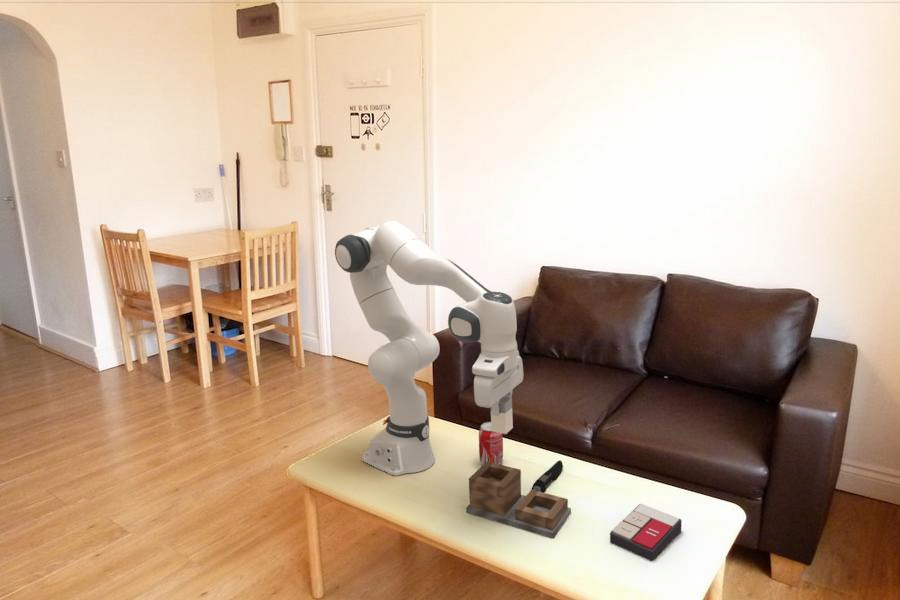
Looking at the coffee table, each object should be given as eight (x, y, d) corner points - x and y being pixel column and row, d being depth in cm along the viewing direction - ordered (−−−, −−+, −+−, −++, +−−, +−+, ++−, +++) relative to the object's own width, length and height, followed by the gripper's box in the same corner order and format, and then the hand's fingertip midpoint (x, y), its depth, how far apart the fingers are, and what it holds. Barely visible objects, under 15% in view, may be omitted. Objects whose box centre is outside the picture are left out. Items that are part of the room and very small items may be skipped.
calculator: (609, 530, 152) (640, 500, 162) (609, 545, 153) (640, 515, 163) (652, 549, 145) (682, 516, 155) (652, 565, 146) (681, 532, 156)
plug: (491, 431, 162) (490, 401, 160) (498, 425, 165) (497, 395, 163) (505, 434, 160) (504, 404, 158) (512, 427, 163) (511, 398, 161)
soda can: (481, 456, 196) (480, 420, 193) (504, 458, 194) (503, 421, 191) (477, 468, 189) (476, 430, 186) (501, 469, 188) (500, 432, 185)
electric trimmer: (566, 471, 186) (566, 461, 186) (542, 495, 174) (542, 485, 173) (554, 468, 188) (554, 458, 188) (530, 492, 176) (530, 481, 175)
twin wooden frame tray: (466, 512, 167) (465, 479, 165) (487, 490, 177) (486, 459, 175) (553, 538, 155) (553, 503, 153) (570, 513, 165) (571, 479, 163)
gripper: (506, 344, 168) (508, 394, 171) (468, 369, 151) (470, 424, 154) (528, 347, 165) (530, 397, 168) (492, 373, 148) (494, 428, 151)
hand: (501, 410), depth 161 cm, fingers closed on plug, 4 cm apart
